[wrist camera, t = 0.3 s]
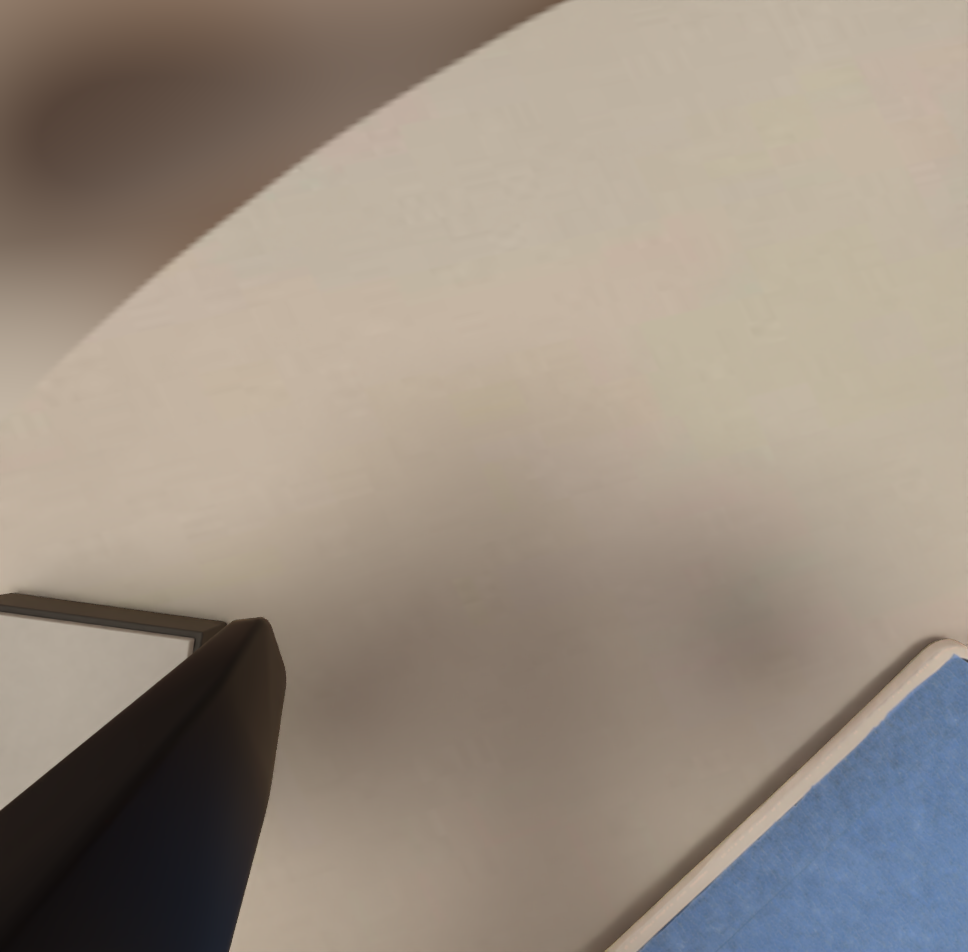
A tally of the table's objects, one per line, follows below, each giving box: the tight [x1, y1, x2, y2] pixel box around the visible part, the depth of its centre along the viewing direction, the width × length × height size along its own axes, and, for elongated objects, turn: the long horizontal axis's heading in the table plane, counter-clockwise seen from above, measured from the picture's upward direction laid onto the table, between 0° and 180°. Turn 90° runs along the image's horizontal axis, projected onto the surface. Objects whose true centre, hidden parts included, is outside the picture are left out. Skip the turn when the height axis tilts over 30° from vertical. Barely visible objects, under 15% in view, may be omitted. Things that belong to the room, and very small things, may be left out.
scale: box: [0, 593, 226, 810], centre depth 22 cm, size 7×7×2 cm
